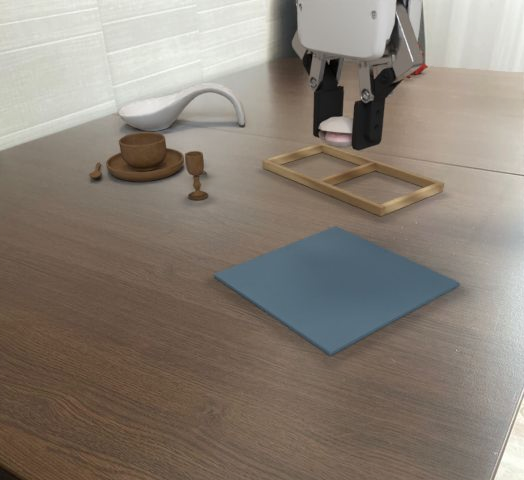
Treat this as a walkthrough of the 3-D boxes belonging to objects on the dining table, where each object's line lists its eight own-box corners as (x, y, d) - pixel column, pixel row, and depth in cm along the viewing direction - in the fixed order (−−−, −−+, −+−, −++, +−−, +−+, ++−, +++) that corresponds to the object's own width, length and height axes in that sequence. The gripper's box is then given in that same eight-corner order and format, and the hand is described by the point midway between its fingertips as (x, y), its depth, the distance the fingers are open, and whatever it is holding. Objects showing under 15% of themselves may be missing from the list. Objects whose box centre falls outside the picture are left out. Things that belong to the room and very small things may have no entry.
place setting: (201, 153, 92) (197, 116, 89) (213, 199, 76) (209, 156, 73) (93, 162, 90) (85, 125, 86) (83, 211, 74) (73, 167, 71)
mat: (335, 228, 68) (335, 225, 67) (459, 285, 56) (459, 282, 56) (214, 277, 59) (213, 273, 59) (330, 356, 48) (330, 352, 47)
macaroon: (311, 148, 50) (312, 119, 49) (331, 133, 54) (332, 106, 52) (357, 154, 49) (359, 124, 47) (374, 138, 52) (376, 109, 51)
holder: (322, 150, 92) (322, 142, 91) (443, 191, 76) (444, 182, 75) (262, 168, 86) (262, 160, 85) (380, 216, 70) (381, 207, 69)
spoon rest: (115, 137, 101) (107, 95, 97) (127, 119, 110) (120, 80, 106) (244, 132, 101) (242, 90, 97) (245, 115, 110) (243, 76, 106)
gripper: (495, -130, 36) (447, 153, 47) (320, -112, 47) (315, 115, 58) (420, -133, 33) (387, 174, 44) (249, -112, 43) (258, 129, 54)
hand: (346, 138), depth 51 cm, fingers closed on macaroon, 4 cm apart
